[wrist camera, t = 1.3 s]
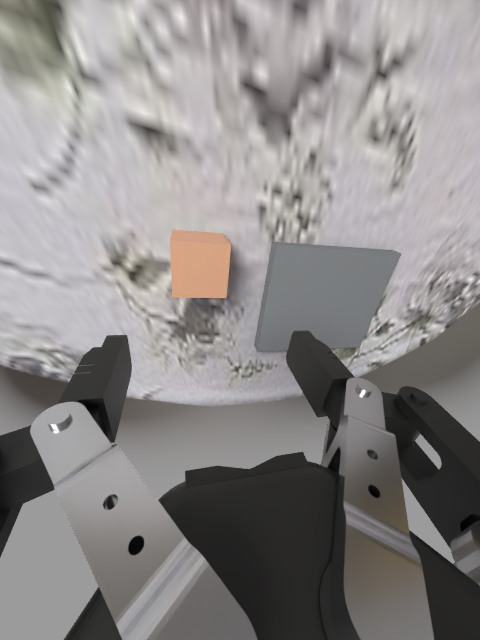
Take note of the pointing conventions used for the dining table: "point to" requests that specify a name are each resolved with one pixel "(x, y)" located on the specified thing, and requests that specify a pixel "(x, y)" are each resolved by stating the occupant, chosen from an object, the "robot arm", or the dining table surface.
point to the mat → (321, 293)
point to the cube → (199, 264)
